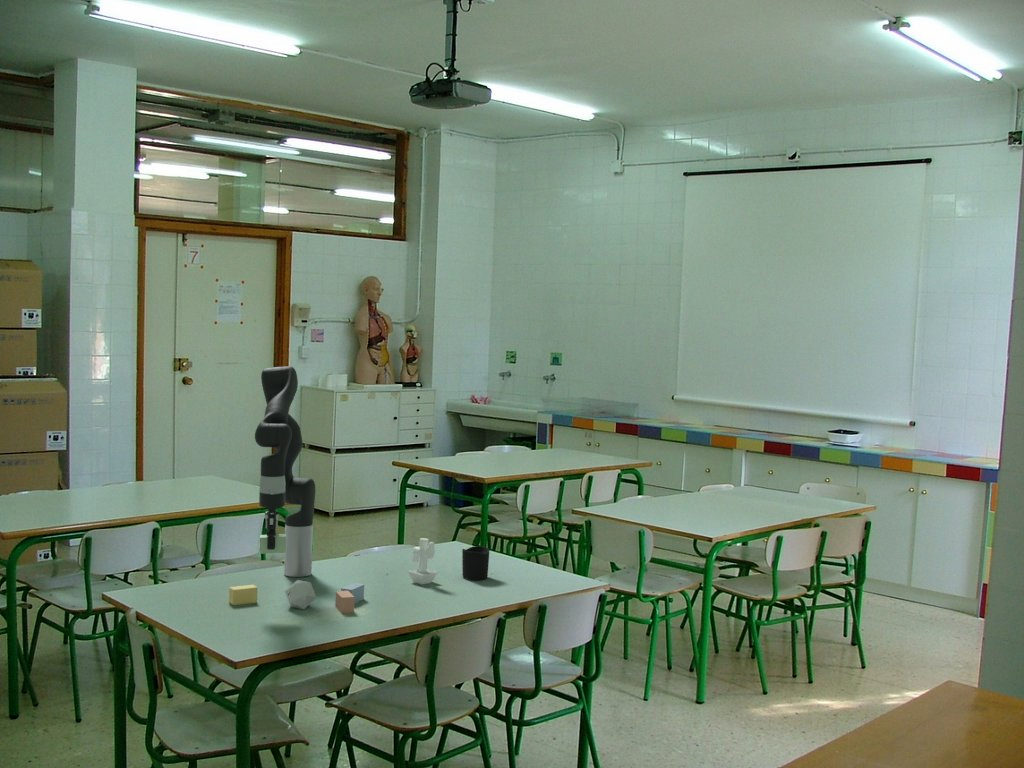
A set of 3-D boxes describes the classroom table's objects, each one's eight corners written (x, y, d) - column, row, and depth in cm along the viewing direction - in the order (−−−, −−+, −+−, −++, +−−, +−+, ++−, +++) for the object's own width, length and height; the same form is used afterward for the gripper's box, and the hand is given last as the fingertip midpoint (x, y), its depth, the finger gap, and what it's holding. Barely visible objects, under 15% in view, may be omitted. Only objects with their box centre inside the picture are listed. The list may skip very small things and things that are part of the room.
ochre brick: (229, 602, 306) (229, 587, 305) (253, 599, 310) (253, 584, 310) (232, 605, 303) (233, 590, 302) (257, 602, 307) (257, 587, 306)
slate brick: (340, 603, 309) (341, 588, 309) (353, 597, 316) (353, 582, 316) (351, 605, 308) (351, 589, 307) (363, 599, 315) (364, 584, 314)
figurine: (421, 578, 344) (423, 534, 343) (439, 583, 337) (441, 539, 336) (405, 581, 339) (406, 537, 338) (423, 586, 332) (425, 542, 331)
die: (289, 604, 308) (277, 583, 302) (314, 589, 310) (302, 568, 305) (298, 620, 301) (286, 599, 296) (323, 605, 304) (312, 584, 298)
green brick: (260, 550, 299) (260, 535, 299) (286, 549, 301) (285, 533, 301) (260, 553, 296) (259, 537, 295) (286, 552, 297) (285, 536, 297)
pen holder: (490, 581, 343) (491, 552, 343) (462, 581, 342) (463, 552, 341) (486, 574, 352) (487, 546, 352) (460, 574, 351) (461, 546, 351)
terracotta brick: (341, 613, 298) (341, 597, 298) (335, 607, 305) (335, 591, 305) (354, 612, 300) (354, 596, 299) (347, 606, 307) (347, 590, 306)
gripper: (260, 486, 303) (259, 542, 304) (258, 494, 289) (257, 553, 290) (285, 486, 305) (284, 542, 306) (285, 494, 291) (284, 552, 292)
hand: (271, 547), depth 298 cm, fingers closed on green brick, 3 cm apart
